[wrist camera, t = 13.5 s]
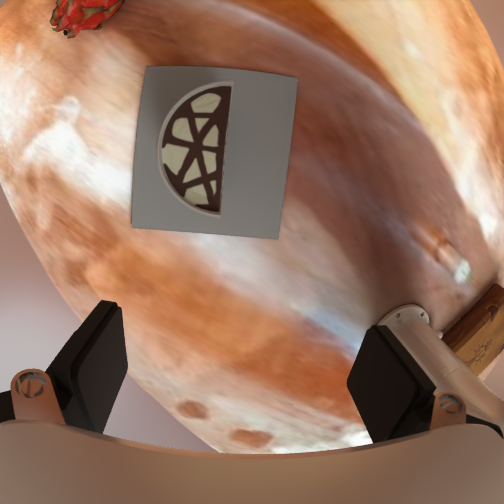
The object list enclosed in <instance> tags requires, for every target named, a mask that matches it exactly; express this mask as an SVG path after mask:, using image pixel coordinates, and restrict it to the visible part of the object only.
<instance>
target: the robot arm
mask: <svg viewBox="0 0 504 504" xmlns="http://www.w3.org/2000/svg"><path fill="white" fill-rule="evenodd" d="M442 336H443V333H442V331H437V332H435V331H434V330H433V329H432V328H431V327H430V326H429V317H428V314H427V313H426V311H425V310H424V309H423V308H422V307H420V306H418V305H414V304H408V305H403V306H401V307H398V308H396V309H394V310H393V311H391V312H390V313H388V314H387V315H386V316H385V317H384V318H383V319H382V320H381V321H380V322H379V323H378V324H377V325H373V326H372V327H371V328H370V329H368V330H367V331H366V334H365V337H364V339H363V342H362V344H361V347H360V350H359V352H358V355H357V357H356V360H355V362H354V364H353V367H352V369H351V372H350V374H349V376H348V379H347V387H348V390H349V392H350V394H351V396H352V398H353V400H354V402H355V405H356V407H357V409H358V411H359V413H360V415H361V418H362V420H363V422H364V424H365V426H366V428H367V431H368V433H369V435H370V437H371V439H372V442H373V444H368V445H362V446H356V447H350V448H343V449H335V450H327V451H317V452H306V453H290V454H229V453H213V452H201V451H190V450H183V449H175V448H169V447H162V446H156V445H151V444H145V443H140V442H135V441H129V440H125V439H121V438H116V437H112V436H108V435H104V434H103V431H104V428H105V426H106V423H107V420H108V418H109V415H110V413H111V410H112V407H113V404H114V402H115V400H116V397H117V395H118V392H119V390H120V387H121V385H122V382H123V380H124V378H125V375H126V373H127V369H128V361H127V354H126V346H125V337H124V328H123V317H122V309H121V307H118V305H117V303H116V302H111V301H105V300H101V301H100V302H99V303H98V305H97V306H96V307H95V308H94V310H93V311H92V312H91V313H90V314H89V316H88V317H87V318H86V319H85V321H84V322H83V323H82V325H81V326H80V327H79V329H78V330H76V331H75V332H74V333H73V335H72V336H71V337H70V339H69V340H68V341H67V343H66V344H65V345H64V347H63V348H62V349H61V350H60V352H59V353H58V355H57V356H56V357H55V359H54V360H53V361H52V363H51V364H50V366H49V367H48V368H47V370H46V371H45V372H44V371H41V370H39V369H26V370H23V371H21V372H19V373H17V374H16V375H15V376H14V378H13V379H12V382H11V390H9V391H6V392H2V393H0V504H504V401H503V400H502V399H501V398H499V397H498V396H497V395H496V394H495V393H494V392H492V391H491V390H490V389H489V388H488V387H487V386H486V385H485V384H484V383H483V382H482V381H481V380H480V379H479V378H478V377H477V376H476V375H475V374H474V372H473V371H472V370H471V369H470V368H469V367H468V366H467V365H466V364H465V363H464V362H463V361H462V360H461V359H460V358H459V357H458V356H457V355H456V354H455V353H454V352H453V351H452V350H451V349H450V348H449V347H448V346H447V345H446V344H445V343H444V342H443V341H442V340H441V339H440V338H442Z"/></svg>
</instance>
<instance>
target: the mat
mask: <svg viewBox="0 0 504 504" xmlns="http://www.w3.org/2000/svg"><path fill="white" fill-rule="evenodd" d="M223 80H233V81H234V85H233V94H232V103H231V112H230V120H229V130H228V139H227V149H226V159H225V169H224V180H223V191H222V203H221V214H220V218H218V217H211V216H207V215H204V214H201V213H198V212H196V211H194V210H192V209H190V208H188V207H187V206H186V205H184V204H183V203H181V202H180V201H179V200H178V199H177V198H176V197H175V196H174V195H173V194H172V193H171V192H170V190H169V189H168V188H167V186H166V184H165V183H164V181H163V179H162V177H161V174H160V171H159V168H158V164H157V158H156V143H157V137H158V132H159V129H160V126H161V124H162V122H163V120H164V118H165V116H166V114H167V113H168V111H169V110H170V109H171V107H172V106H173V105H174V104H175V103H176V102H177V101H178V100H179V99H180V98H181V97H182V96H184V95H185V94H187V93H188V92H189V91H191V90H193V89H195V88H197V87H199V86H201V85H204V84H207V83H211V82H216V81H223ZM297 86H298V78H295V77H289V76H284V75H278V74H271V73H265V72H257V71H250V70H241V69H230V68H218V67H200V66H147V67H146V72H145V78H144V84H143V90H142V96H141V103H140V110H139V118H138V126H137V135H136V146H135V158H134V172H133V191H132V228H138V229H152V230H166V231H179V232H192V233H205V234H218V235H230V236H242V237H253V238H265V239H276V240H278V237H279V230H280V222H281V215H282V208H283V201H284V193H285V186H286V178H287V170H288V163H289V155H290V147H291V138H292V130H293V122H294V113H295V104H296V95H297Z"/></svg>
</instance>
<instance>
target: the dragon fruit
mask: <svg viewBox="0 0 504 504" xmlns="http://www.w3.org/2000/svg"><path fill="white" fill-rule="evenodd" d="M124 2H125V0H57V2H56V4H57V6H56V8H55V9H54V10H53V13H52V17H51V20H50V23H51V25H52V26H56V25H57V27H56V28H54V29H53V28H52V29H53V30H54V31H56V32H60V31H62V30H64V29H66V30H67V31H66V30H64V32H63V33H64V35H65V36H66V35H67V37H68V38H74V37H75V36H76V35H77V34H78V33H79V31H80V30H86V29H92V30H99V29H101V28H102V24H99V23H102V22H103V21H105V20H106V19H108V18H109V17H110V16H112V15H113V14H114V13H116V12H117V11H118V10H119V9H120V7H121V6H122V4H123V3H124Z"/></svg>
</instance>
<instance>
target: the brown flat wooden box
mask: <svg viewBox="0 0 504 504" xmlns="http://www.w3.org/2000/svg"><path fill="white" fill-rule="evenodd" d="M441 340H442V341H443V342H444V343H445V344H446V345H447V346H448V347H449V348H450V349H451V350H452V351H453V352H454V353H455V354H456V355H457V356H458V357H459V358H460V359H461V360H462V361H463V362H464V363H465V364H466V365H467V366H468V367H469V368H470V369H471V370H472V371H473V372H474V374H475V375H476V376H478V375H479V374H480V373H481V372H482V371H483V370H484V369H485V368H486V367H487V366H488V365H489V364H490V363H491V362H492V361H493V360H494V359H495V358H496V357H497V356H498V355H499V354H500V353H501V351H502V350H503V349H504V288H502V287H501V286H499V285H498V284H494V285H493V287H492V288H491V289H490V290H489V291H488V292H487V293H486V294H485V296H484V297H483V298H482V299H481V300H480V301H479V302H478V303H477V304H476V305H475V306H474V307H473V308H472V309H471V310H470V311H469V312H468V313H467V314H466V315H465V316H464V317H463V318H462V319H461V320H460V321H459V322H458V323H457V324H456V325H455V326H454V327H453V328H452V329H451V330H450V331H449V332H448V333H446V334H445V335H444V336H443V337H442V338H441Z"/></svg>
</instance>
